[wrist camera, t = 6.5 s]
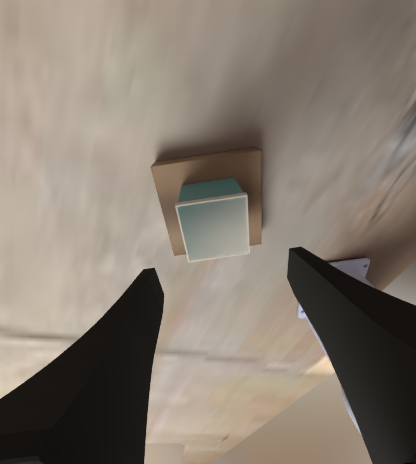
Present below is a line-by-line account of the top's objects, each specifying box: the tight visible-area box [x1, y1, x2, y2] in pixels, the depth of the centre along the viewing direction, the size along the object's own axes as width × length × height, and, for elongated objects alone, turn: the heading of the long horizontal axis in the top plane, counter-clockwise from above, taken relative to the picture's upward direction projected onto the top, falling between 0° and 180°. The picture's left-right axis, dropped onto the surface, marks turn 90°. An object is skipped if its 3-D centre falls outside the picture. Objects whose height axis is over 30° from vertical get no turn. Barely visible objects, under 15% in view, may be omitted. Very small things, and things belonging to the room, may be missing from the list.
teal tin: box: [175, 178, 250, 262], centre depth 16 cm, size 5×5×5 cm
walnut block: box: [151, 147, 262, 256], centre depth 19 cm, size 9×9×2 cm
